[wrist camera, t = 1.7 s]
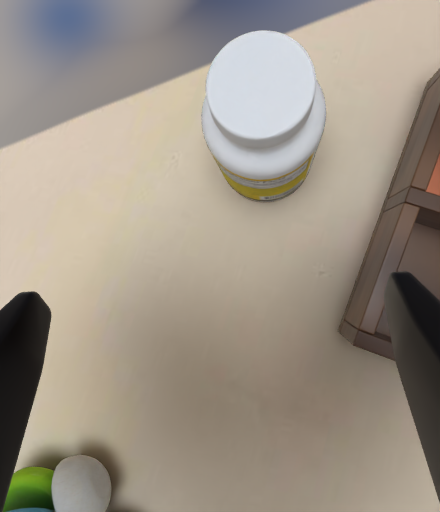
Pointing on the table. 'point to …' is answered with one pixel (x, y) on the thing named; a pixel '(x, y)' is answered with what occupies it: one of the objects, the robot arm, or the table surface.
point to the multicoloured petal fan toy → (61, 487)
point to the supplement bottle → (263, 114)
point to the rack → (402, 231)
